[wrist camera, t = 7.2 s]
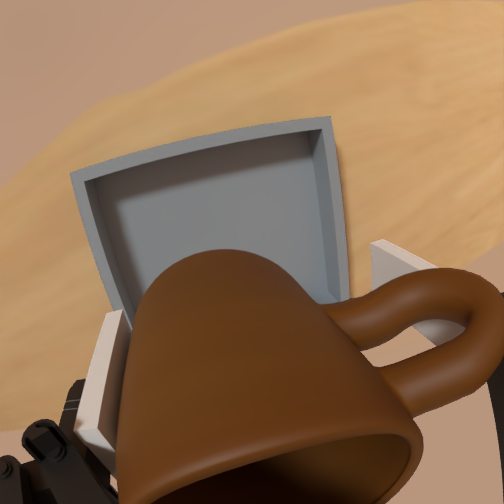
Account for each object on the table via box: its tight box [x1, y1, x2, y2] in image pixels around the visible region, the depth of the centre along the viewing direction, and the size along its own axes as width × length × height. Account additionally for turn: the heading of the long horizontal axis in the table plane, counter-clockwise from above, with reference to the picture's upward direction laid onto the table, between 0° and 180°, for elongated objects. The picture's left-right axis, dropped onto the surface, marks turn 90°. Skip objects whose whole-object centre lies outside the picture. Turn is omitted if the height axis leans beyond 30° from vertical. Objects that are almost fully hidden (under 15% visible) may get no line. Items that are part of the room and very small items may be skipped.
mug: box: [116, 249, 504, 504], centre depth 10 cm, size 12×8×9 cm, turn 120°
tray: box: [70, 116, 350, 331], centre depth 22 cm, size 17×15×3 cm
